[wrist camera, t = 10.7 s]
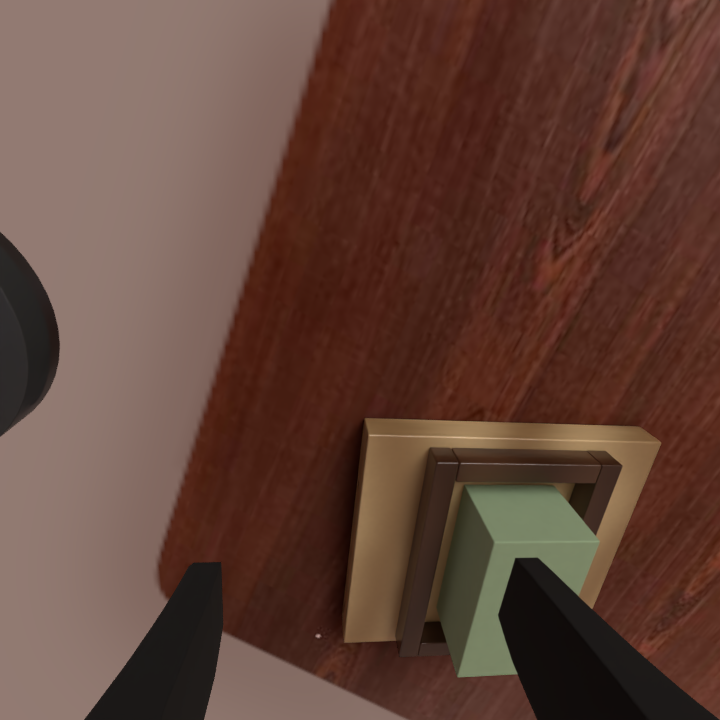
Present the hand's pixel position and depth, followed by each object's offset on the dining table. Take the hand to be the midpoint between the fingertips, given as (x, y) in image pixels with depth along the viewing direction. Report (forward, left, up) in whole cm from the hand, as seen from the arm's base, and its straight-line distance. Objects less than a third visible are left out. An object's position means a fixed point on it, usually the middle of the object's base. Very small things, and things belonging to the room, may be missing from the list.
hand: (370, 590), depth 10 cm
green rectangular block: (+8, -7, -8) cm, 13 cm away
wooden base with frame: (+8, -7, -9) cm, 14 cm away
